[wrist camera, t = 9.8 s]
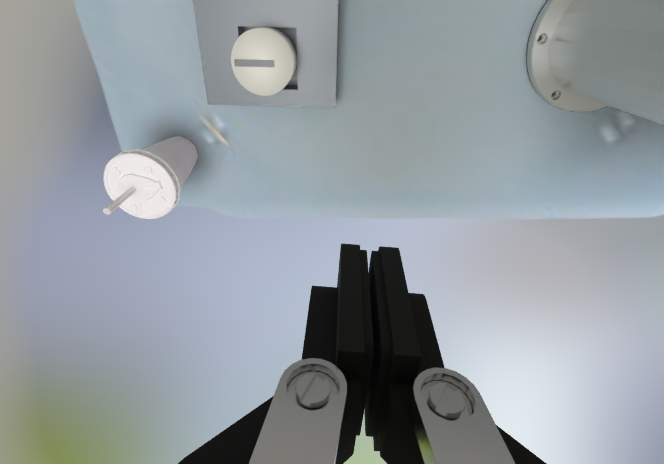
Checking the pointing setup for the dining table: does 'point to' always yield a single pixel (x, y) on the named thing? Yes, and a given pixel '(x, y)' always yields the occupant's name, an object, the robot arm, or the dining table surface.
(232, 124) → the dining table surface
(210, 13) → the mount
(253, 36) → the knob
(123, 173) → the smoothie
